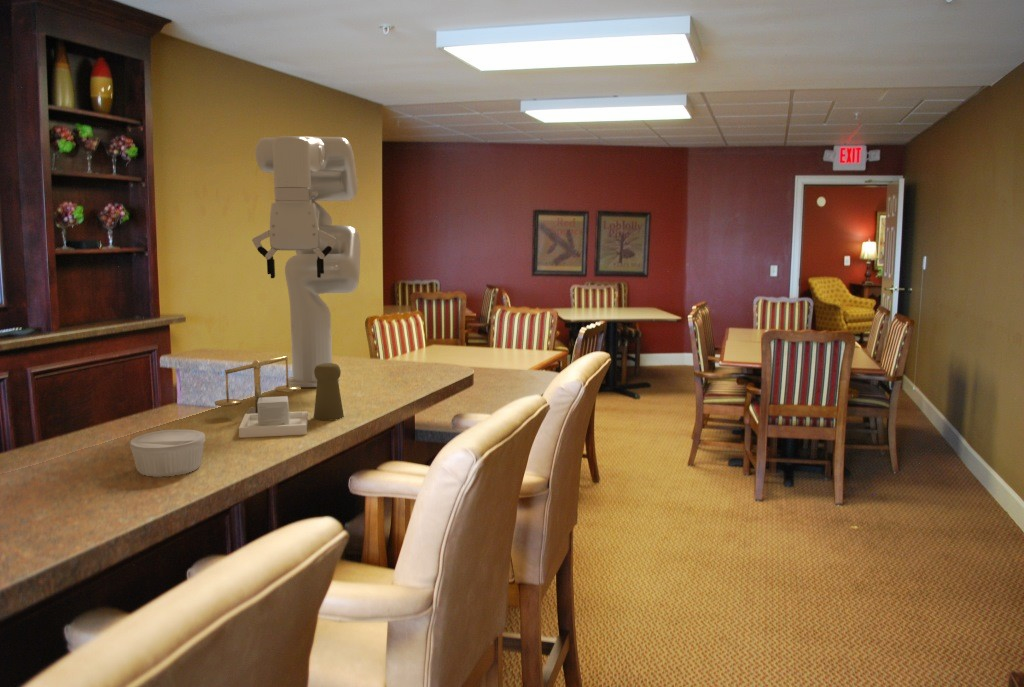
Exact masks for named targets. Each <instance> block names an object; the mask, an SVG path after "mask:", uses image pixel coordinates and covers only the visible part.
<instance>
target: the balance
mask: <svg viewBox="0 0 1024 687" xmlns="http://www.w3.org/2000/svg"><path fill="white" fill-rule="evenodd" d="M288 360H289V358H288V356H287V355H285V356H280V357H276V358H272V359H267V360H263V361H260V360H254V361H252V363H251V364H246V365H243V366H237V367H234V368H229V369H226V370H224V372H225V391H226V392H225V393H226V394H225V396H226V399H224V398H223V399H218V400H216V401H214V405H215V406H218V407H231V406H237V405H240V404H241V403H242V401H241V399H238V398H237V399H236V398H229V396H230V395H229V376H228V375H229V374H234V373H237V372H240V371H245V370H249V369H250V370H251V369H253V379H254V380H253V382H254V406H249V408H248V410H247V412H246V414H254V413H258V408H257V403H258V399H259V398H262V390H261V389H262V388H261V387H262V386H261V368H262V366H266V365H271V364H276V363H280V362H284V361H285V377H286V378H285V379H286V380H285V382H286V385H280V386H276V387H275V388H274V391H275V392H279V393H280V392H281V393H291V392H298V391H301V387H300V386H295V385H289V383H288V378H289V361H288Z"/></svg>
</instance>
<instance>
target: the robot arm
mask: <svg viewBox="0 0 1024 687" xmlns="http://www.w3.org/2000/svg"><path fill="white" fill-rule="evenodd" d="M254 152H255V161H256V164H257V166H258V168H259V169H260V171H262V173H266V174H273V190H274V191H273V192H274V202H271V206H270V212H269V230H268V229H267V231H264V232H263V233H261V234H259V235H257V236H255V237H253V238H252V240H251V241H252V243H253V245H254V247H255V248H256V250H257V251H258V253H259V254H261V255H262V256H263V257H264V258H265V259H266V269H267V271H266V272H267V275H270V279H275V278H276V264H275V259H274V255H275V254H276V253H277V251H295V253H296V255H295V254H294V255H293V256H291V257H289V258H288V259H287V261H286V262H285V265H284V276H285V280H286V285H287V292H288V297H289V309H290V310H289V312H290V315H289V316H290V335H291V336H290V337H291V340H290V341H291V364H292V365H291V367H292V376H290V377H288V383H289V385H295V386H300V388H317V379H316V378H315V374H314V370H315V367H316V366H317V365H319V364H323V363H333V350H332V348H333V347H332V320H331V319H332V317H331V316H332V315H331V310H330V308H329V306H328V304H326V302H325V301H324V300H323V299H322V298H321V296H320V295H322V294H348V293H349V294H350V293H353V292H354V291H356V290H357V288H358V286H359V284H360V283H359V282H360V274H361V272H360V271H361V270H360V269H361V238H360V235H359V232H358V230H357V229H356V228H355V227H353V226H350V225H345V224H344V225H341V224H340V225H337V224H333V219H332V217H331V215H330V214H329V211H327V210H326V209H325V208H324V207H323V206H322V205H321V204H319V203H318V202H347V201H348V202H349V201H352V200H354V198H356V196H357V195H358V194H357V193H358V178H357V177H358V176H357V169H356V161H355V155H354V151H353V148H352V145H351V143H350V141H349V140H348V139H347V138H345V137H342V136H306V135H297V136H296V135H295V136H293V135H281V136H277V137H261V138H260V139H259V140H258V142H257V144H256V147H255V151H254ZM267 238H269V245H270V249H269V250H267V249H266V248H265V247H264V246H263V244H262V241H264V240H266V239H267ZM339 382H340V378H339V379H338V383H339Z"/></svg>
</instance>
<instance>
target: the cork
mask: <svg viewBox="0 0 1024 687" xmlns="http://www.w3.org/2000/svg"><path fill="white" fill-rule="evenodd" d="M341 372H342V371H341V367H340V366H339V365H338V364H337V363H333V362H332V363H323V364H319V365H317V366H316V367H315V370H314V374H315V378H316V379H317V387H316V388H315V389H316V391H315V400H314V410H313V419H314V420H317V421H336V420H335V419H337V420H340V418H341V419H343V418H344V417H345V415H344V410H343V404H342V396H341V390H340V383H339V382H338V379H339V380H340V377H341V374H342V373H341ZM342 417H343V418H342Z"/></svg>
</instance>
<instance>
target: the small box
mask: <svg viewBox="0 0 1024 687" xmlns="http://www.w3.org/2000/svg"><path fill="white" fill-rule="evenodd" d="M257 408H258V425H259V426H270V425H289V412H290V407H289V397H288V395H284V396H282V395H281V396H265V397H263V396H261V398H259V399H258V403H257Z"/></svg>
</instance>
